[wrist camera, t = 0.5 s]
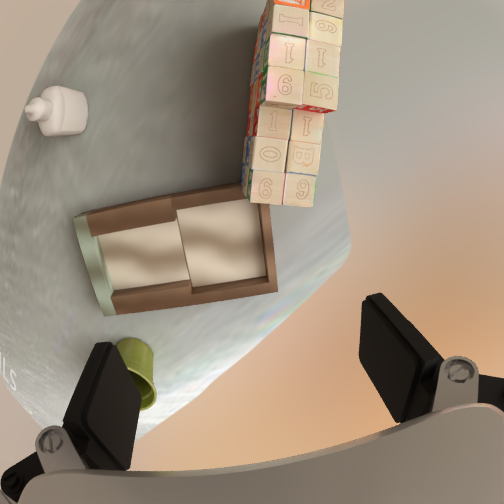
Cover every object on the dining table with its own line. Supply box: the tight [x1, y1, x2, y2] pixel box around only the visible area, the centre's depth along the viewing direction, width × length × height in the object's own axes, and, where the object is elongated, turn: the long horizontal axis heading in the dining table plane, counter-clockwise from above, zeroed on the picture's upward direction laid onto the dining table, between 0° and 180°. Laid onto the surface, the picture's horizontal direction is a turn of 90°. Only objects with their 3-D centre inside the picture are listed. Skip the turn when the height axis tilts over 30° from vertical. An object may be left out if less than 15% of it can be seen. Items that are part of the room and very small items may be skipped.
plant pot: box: [117, 338, 157, 411], centre depth 40 cm, size 9×9×9 cm
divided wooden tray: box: [73, 183, 278, 316], centre depth 37 cm, size 14×24×3 cm, turn 97°
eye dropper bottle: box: [25, 86, 88, 136], centre depth 25 cm, size 4×6×12 cm
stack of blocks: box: [241, 0, 344, 207], centre depth 27 cm, size 21×6×12 cm, turn 174°
